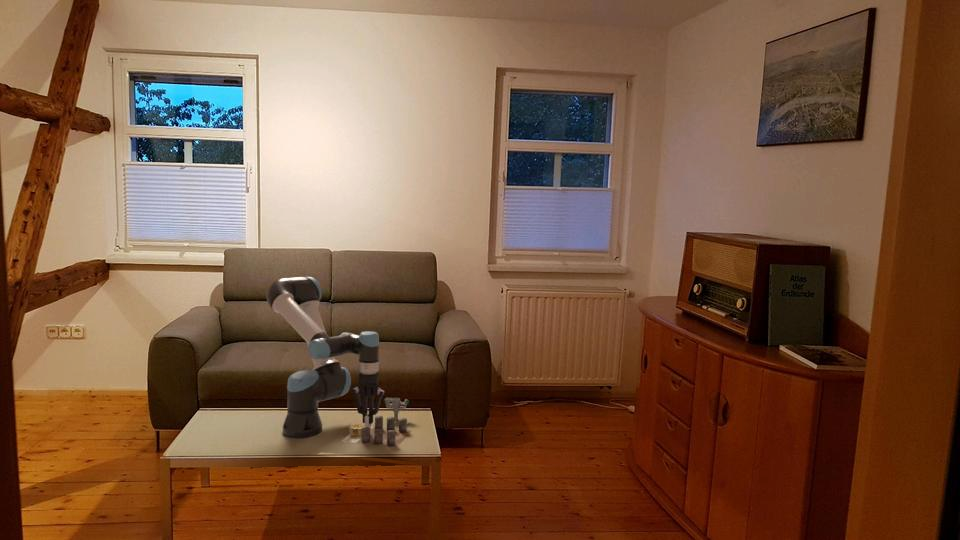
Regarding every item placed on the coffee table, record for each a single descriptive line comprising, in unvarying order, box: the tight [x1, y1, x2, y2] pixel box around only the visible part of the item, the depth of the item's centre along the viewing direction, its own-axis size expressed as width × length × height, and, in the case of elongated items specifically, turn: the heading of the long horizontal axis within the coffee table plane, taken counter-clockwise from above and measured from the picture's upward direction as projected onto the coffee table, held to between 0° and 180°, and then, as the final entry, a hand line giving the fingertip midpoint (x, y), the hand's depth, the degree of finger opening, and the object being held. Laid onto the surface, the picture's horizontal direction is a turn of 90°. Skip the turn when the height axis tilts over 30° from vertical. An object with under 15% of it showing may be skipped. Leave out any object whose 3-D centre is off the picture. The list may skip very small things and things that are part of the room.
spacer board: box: [341, 415, 412, 448], centre depth 236 cm, size 22×18×6 cm
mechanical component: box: [383, 397, 410, 422], centre depth 255 cm, size 3×10×10 cm, turn 89°
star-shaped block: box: [348, 423, 365, 437], centre depth 238 cm, size 7×7×3 cm
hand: (367, 431), depth 237 cm, fingers closed
